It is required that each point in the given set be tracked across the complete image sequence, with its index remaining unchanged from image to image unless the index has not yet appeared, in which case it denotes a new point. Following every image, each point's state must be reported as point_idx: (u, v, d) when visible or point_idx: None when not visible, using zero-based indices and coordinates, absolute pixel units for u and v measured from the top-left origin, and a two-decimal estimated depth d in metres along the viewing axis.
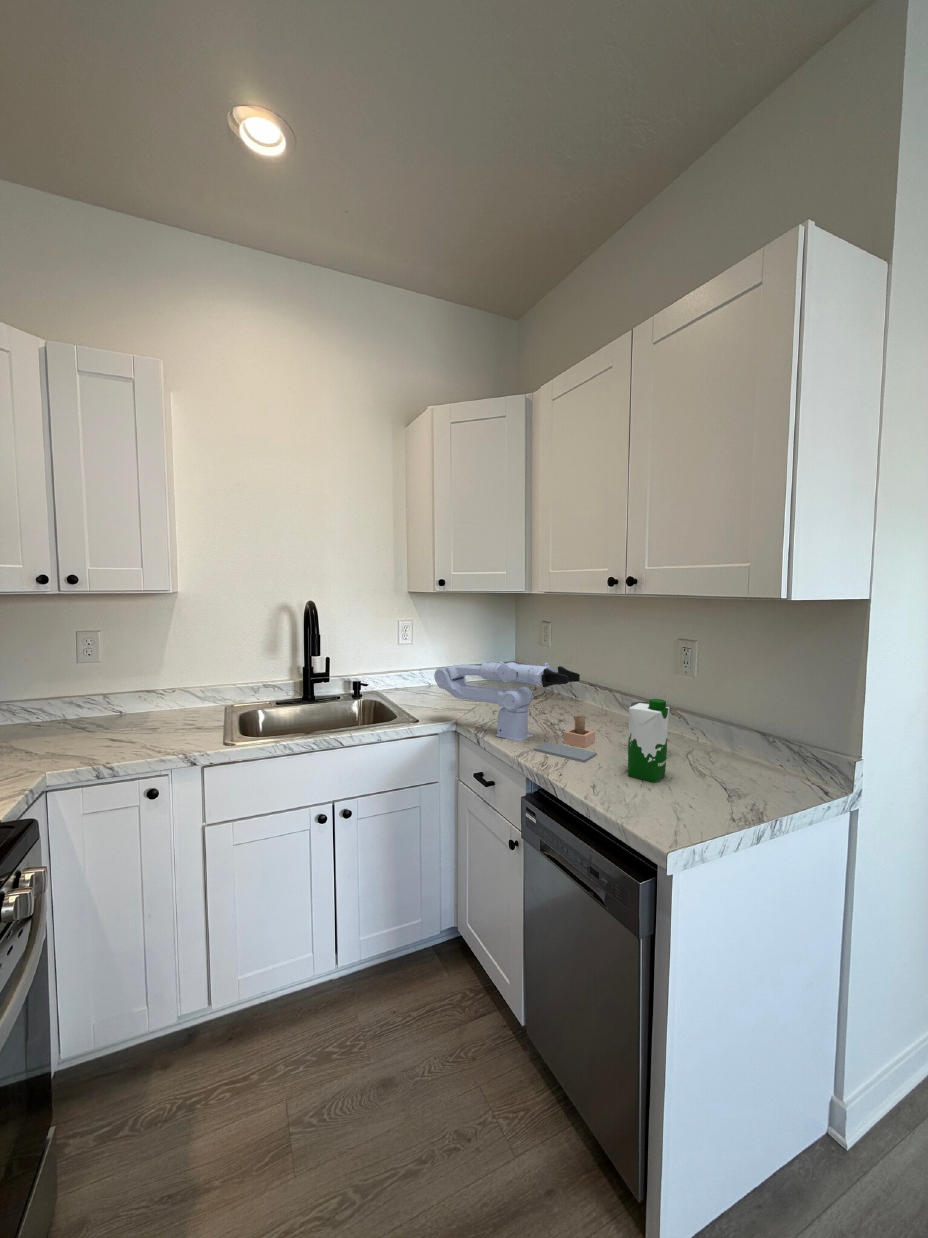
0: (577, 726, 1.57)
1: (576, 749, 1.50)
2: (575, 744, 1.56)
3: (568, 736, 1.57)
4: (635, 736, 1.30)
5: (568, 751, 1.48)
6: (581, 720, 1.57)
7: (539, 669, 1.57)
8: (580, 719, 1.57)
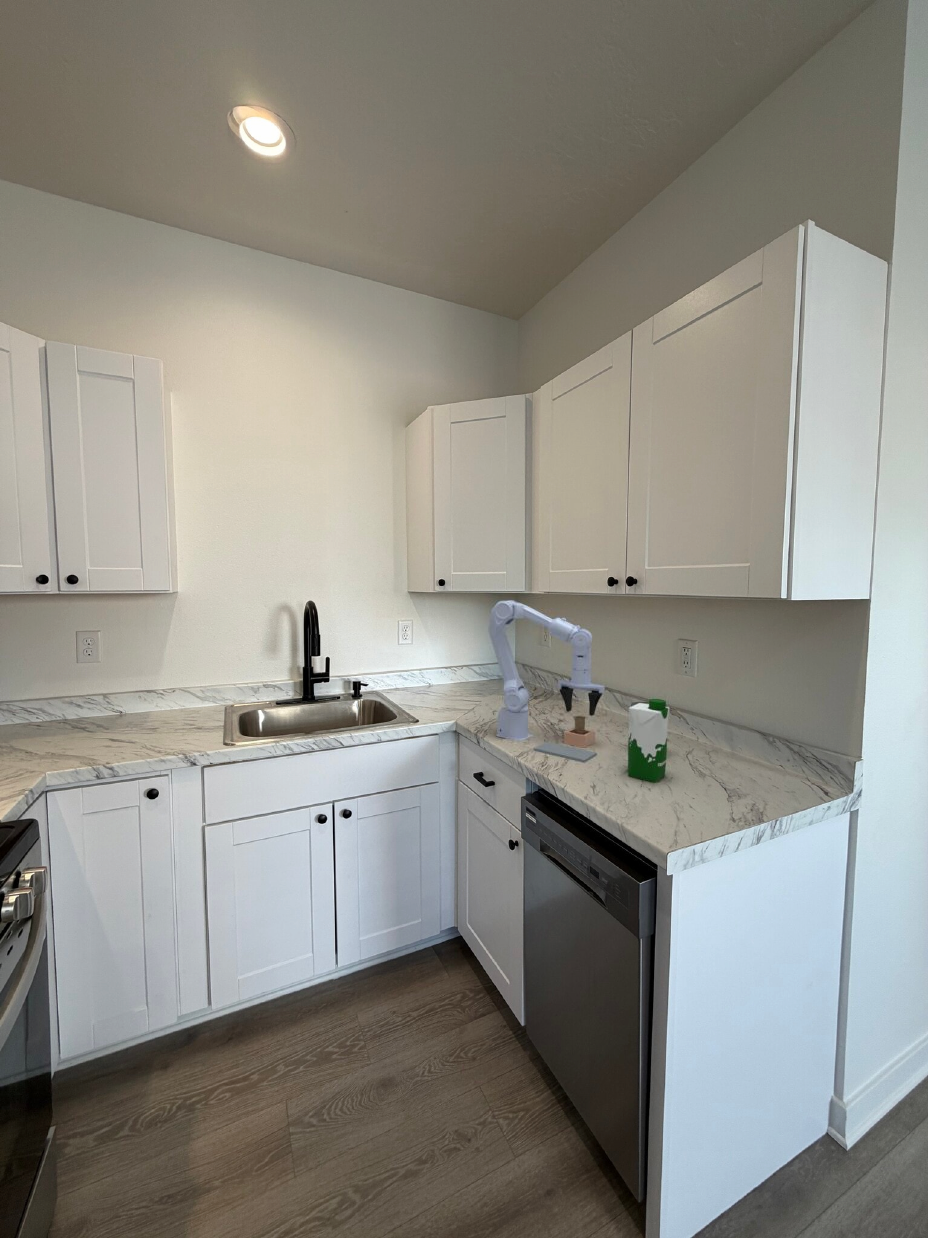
0: (577, 726, 1.57)
1: (576, 749, 1.50)
2: (575, 744, 1.56)
3: (568, 736, 1.57)
4: (635, 736, 1.30)
5: (568, 751, 1.48)
6: (581, 720, 1.57)
7: None
8: (580, 719, 1.57)
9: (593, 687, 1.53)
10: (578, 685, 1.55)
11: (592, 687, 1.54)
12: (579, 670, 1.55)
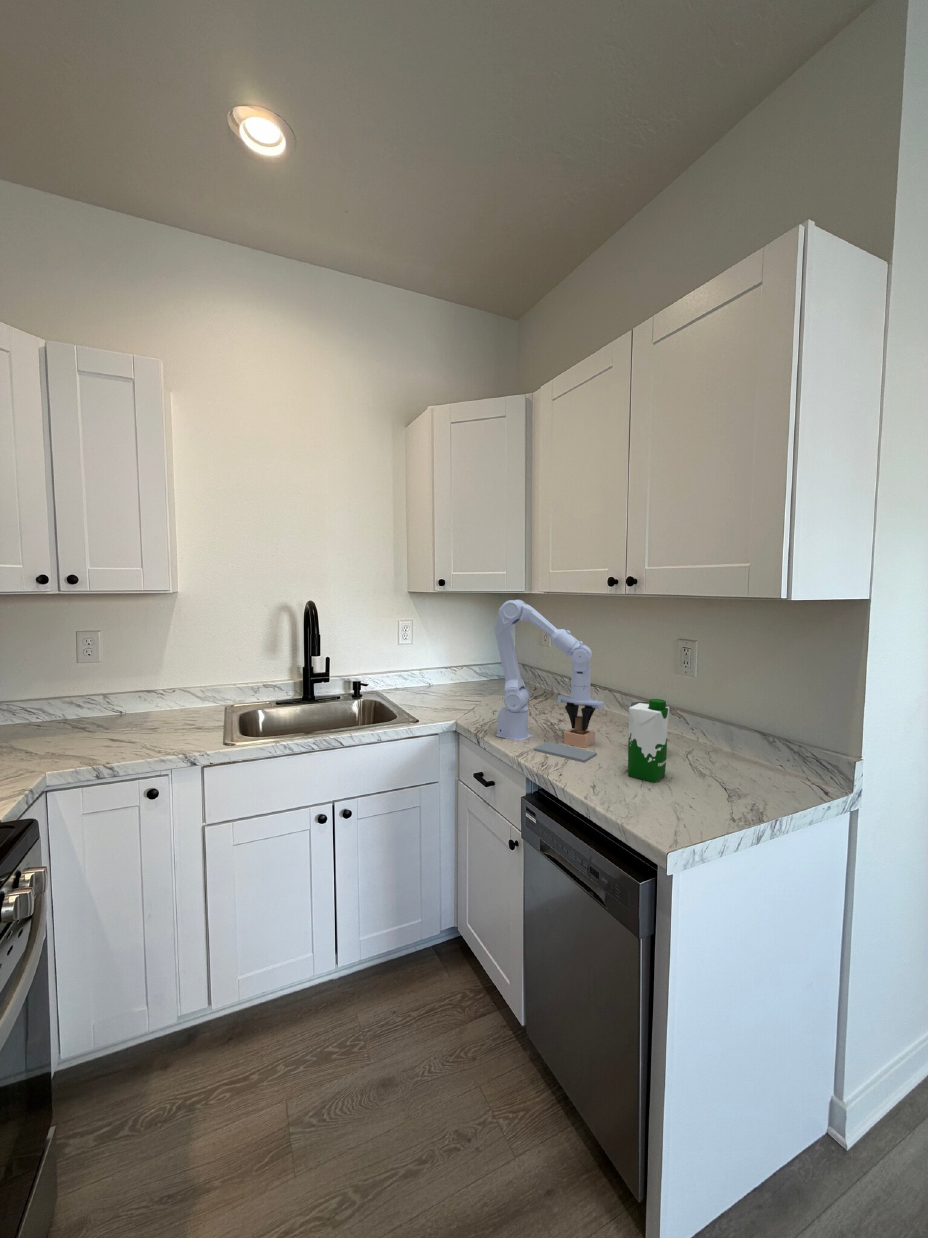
0: (577, 726, 1.57)
1: (576, 749, 1.50)
2: (575, 744, 1.56)
3: (568, 736, 1.57)
4: (635, 736, 1.30)
5: (568, 751, 1.48)
6: (581, 719, 1.57)
7: None
8: (580, 719, 1.57)
9: (592, 703, 1.54)
10: (578, 701, 1.55)
11: (591, 703, 1.54)
12: (579, 686, 1.55)
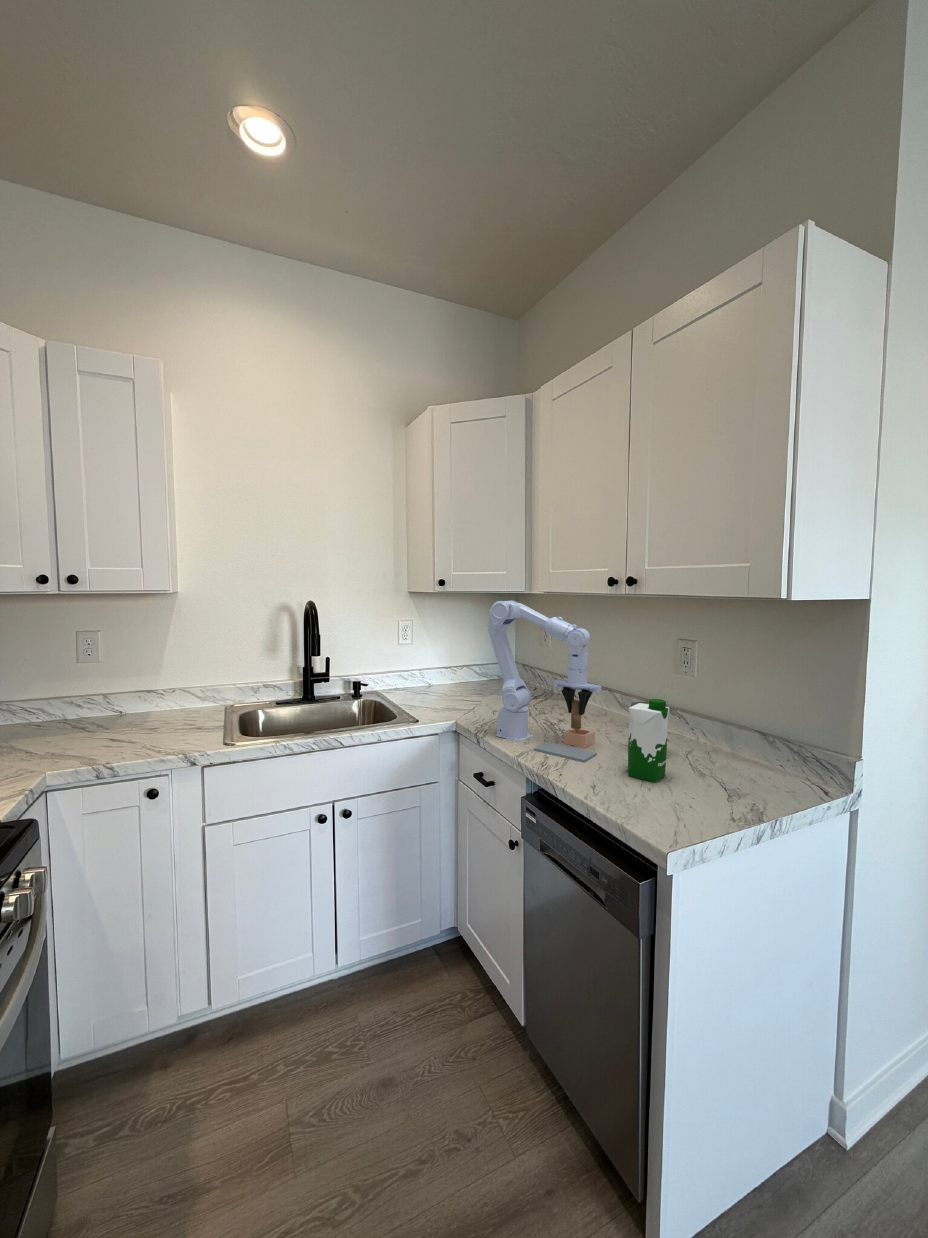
0: (574, 710, 1.54)
1: (576, 749, 1.50)
2: (575, 744, 1.56)
3: (568, 736, 1.57)
4: (635, 736, 1.30)
5: (568, 751, 1.48)
6: (577, 704, 1.54)
7: None
8: (577, 703, 1.54)
9: (590, 687, 1.51)
10: (575, 685, 1.52)
11: (588, 687, 1.51)
12: (575, 670, 1.52)
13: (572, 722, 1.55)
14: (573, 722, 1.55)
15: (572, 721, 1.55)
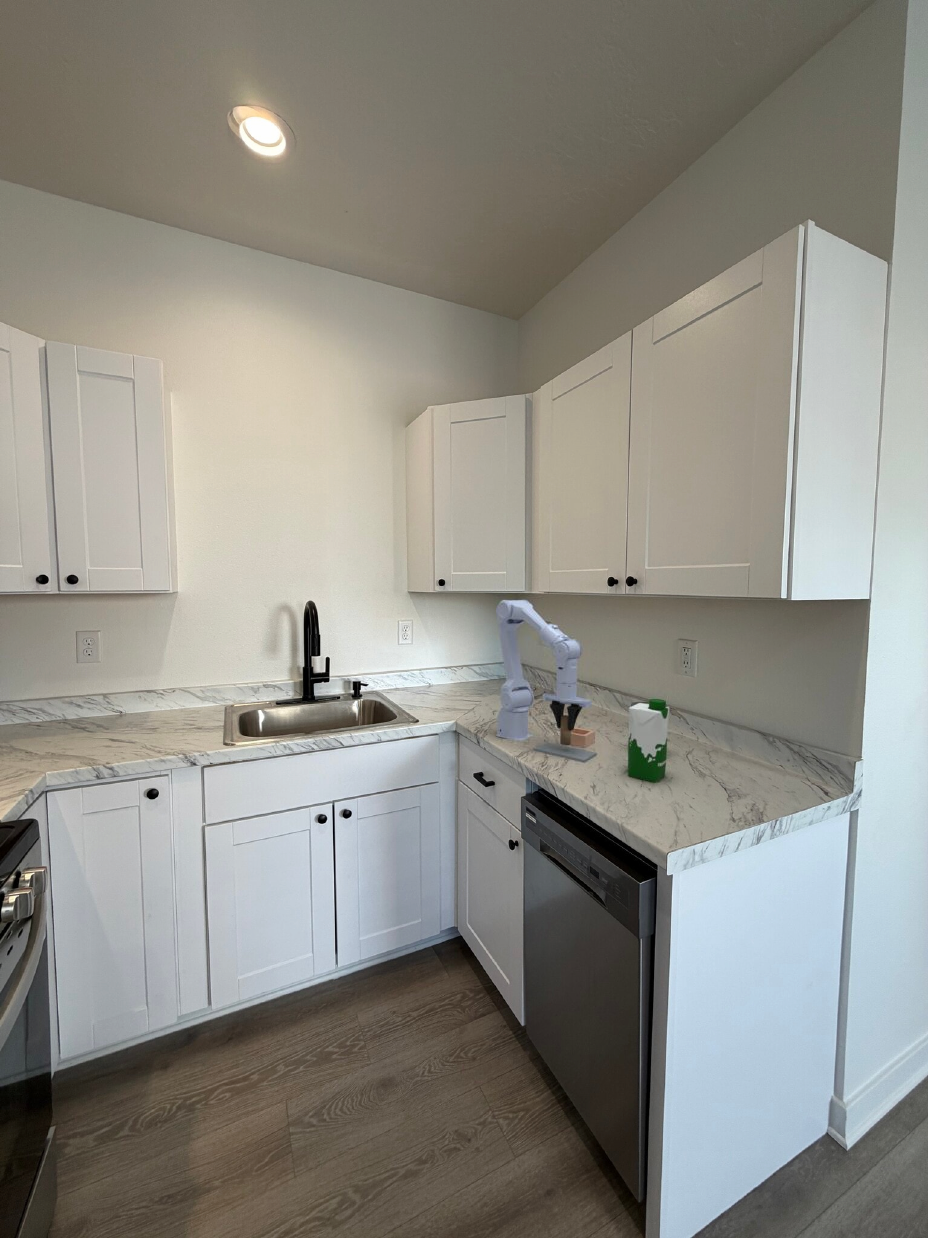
0: (563, 726, 1.47)
1: (576, 749, 1.50)
2: (575, 744, 1.56)
3: None
4: (635, 736, 1.30)
5: (568, 751, 1.48)
6: (566, 719, 1.47)
7: None
8: (566, 718, 1.47)
9: (579, 702, 1.44)
10: (563, 699, 1.45)
11: (578, 702, 1.44)
12: (564, 683, 1.45)
13: (561, 738, 1.48)
14: (562, 738, 1.48)
15: (561, 737, 1.48)
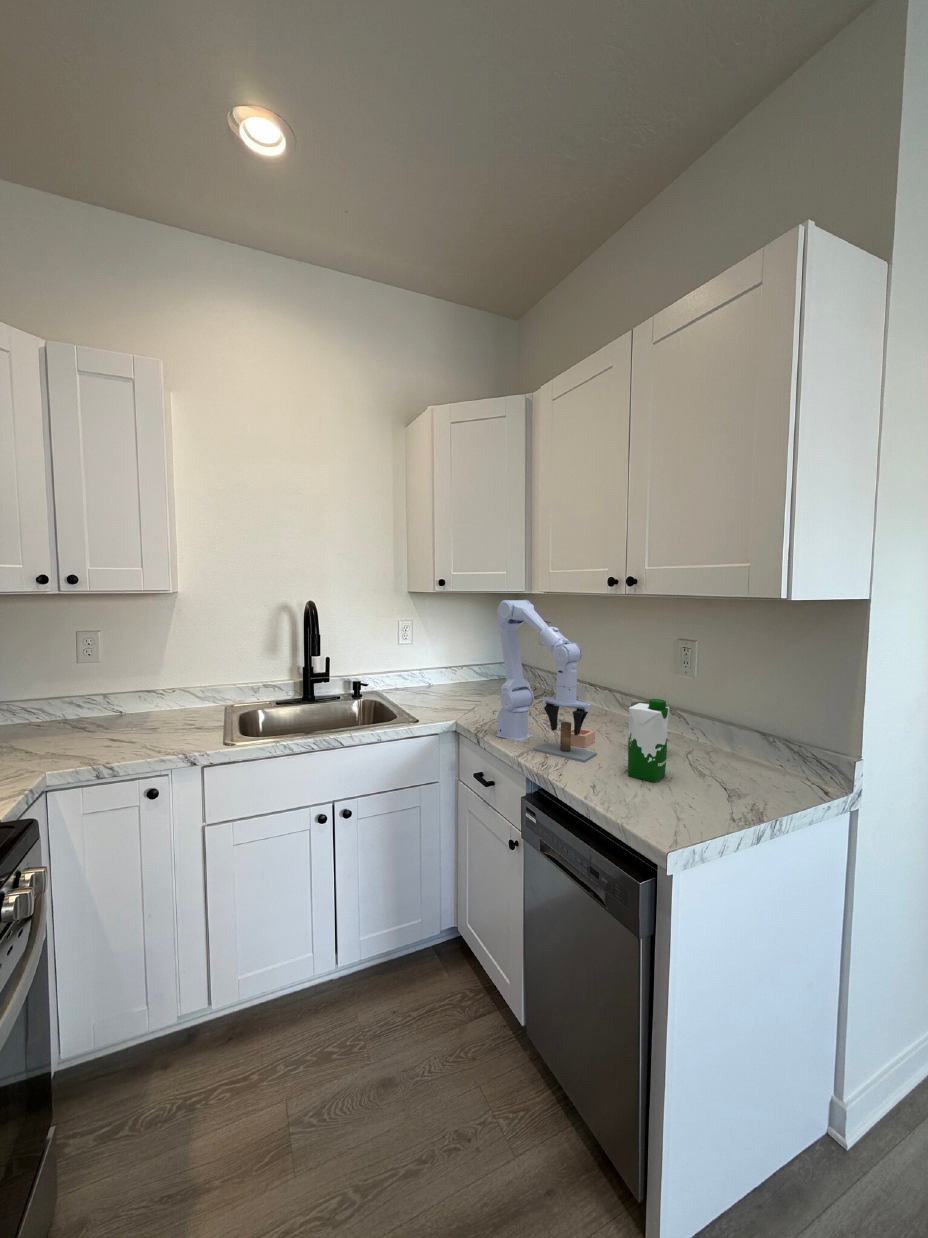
0: (563, 732, 1.48)
1: (576, 749, 1.50)
2: (575, 744, 1.56)
3: None
4: (635, 736, 1.30)
5: None
6: (567, 725, 1.47)
7: None
8: (566, 725, 1.47)
9: (579, 705, 1.44)
10: (563, 703, 1.45)
11: (578, 705, 1.44)
12: (564, 687, 1.45)
13: (561, 744, 1.48)
14: (562, 744, 1.48)
15: (561, 743, 1.48)
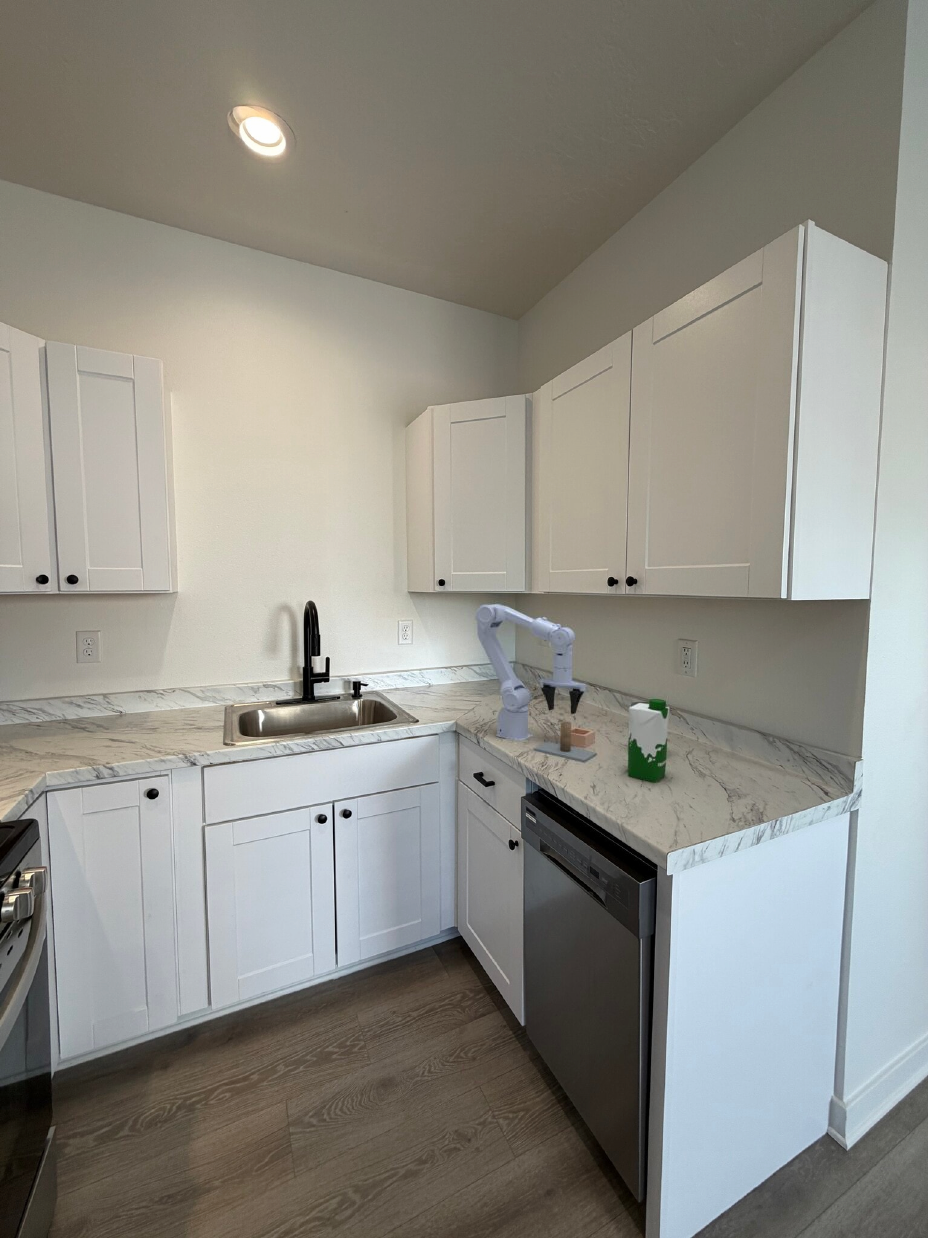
0: (563, 732, 1.48)
1: (576, 749, 1.50)
2: (575, 744, 1.56)
3: None
4: (635, 736, 1.30)
5: None
6: (567, 726, 1.47)
7: None
8: (566, 725, 1.47)
9: (574, 685, 1.53)
10: (560, 683, 1.54)
11: (573, 685, 1.53)
12: (560, 668, 1.54)
13: (561, 745, 1.48)
14: (562, 744, 1.48)
15: (561, 744, 1.48)
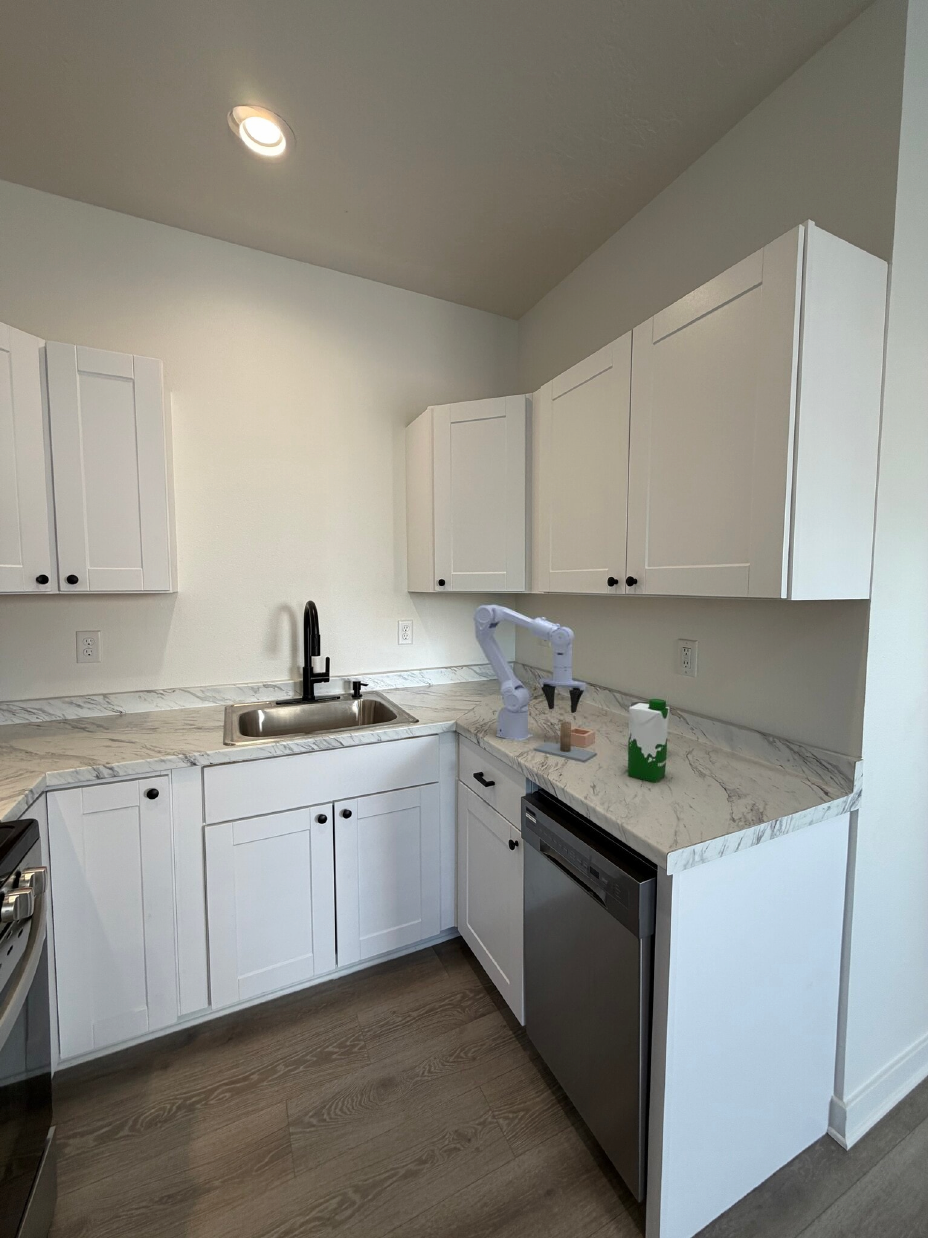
0: (563, 732, 1.48)
1: (576, 749, 1.50)
2: (575, 744, 1.56)
3: None
4: (635, 736, 1.30)
5: None
6: (566, 726, 1.47)
7: None
8: (566, 725, 1.47)
9: (574, 684, 1.54)
10: (560, 682, 1.55)
11: (573, 684, 1.54)
12: (560, 668, 1.55)
13: (561, 745, 1.48)
14: (562, 744, 1.48)
15: (561, 744, 1.48)
